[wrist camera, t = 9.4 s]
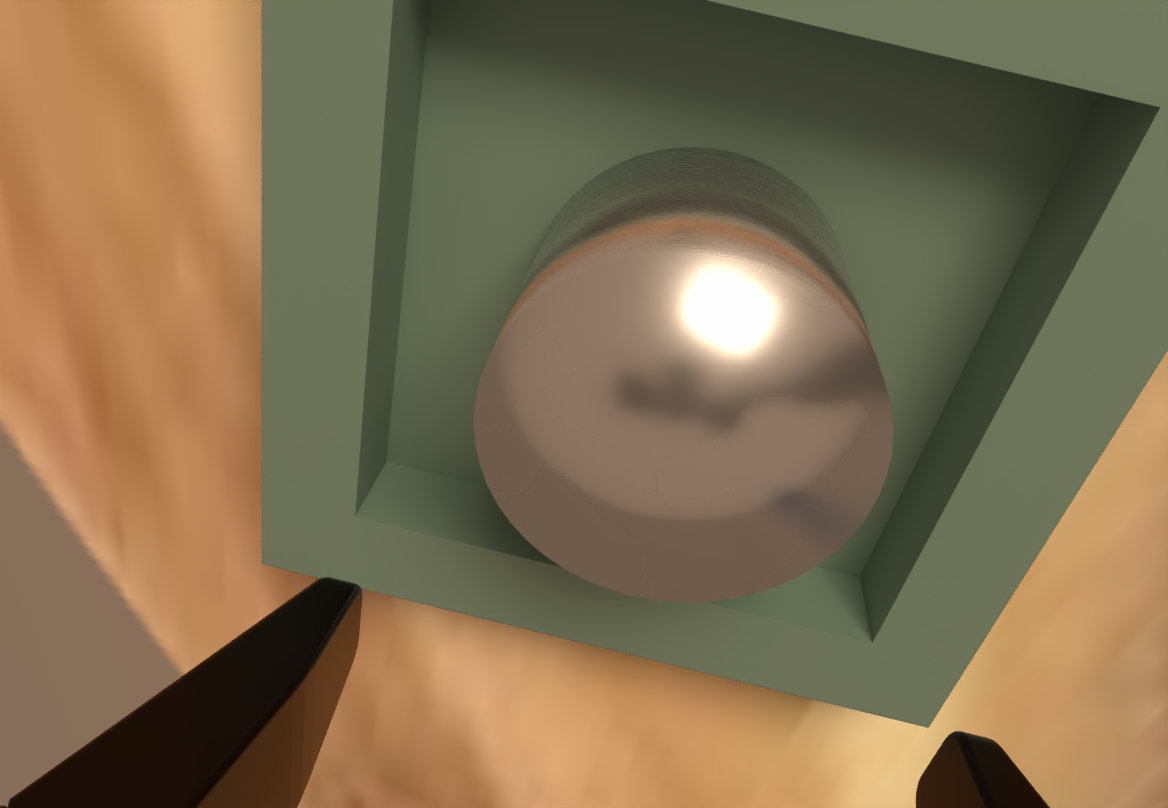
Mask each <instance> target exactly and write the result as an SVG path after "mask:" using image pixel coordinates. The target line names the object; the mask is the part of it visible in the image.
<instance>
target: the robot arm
mask: <svg viewBox="0 0 1168 808" xmlns="http://www.w3.org/2000/svg"><path fill="white" fill-rule="evenodd" d="M361 607H362V590H361V587H360V586H359V585H357V584H355V583H351V582H347V581H343V580H339V579H335V578H331V577H323V578H320V579H318V580H317V581H315V582H314V583H312V584H311V585H310V586H308V587H307V588H305V589H304V590H302V591H301V592H300V593H298V594H297V595H295V596H294V597H293V598H291V599H290V600H288V601H287V602H286V603H284V604H283V605H281V606H280V607H279V608H277V609H276V610H274V611H273V612H272V613H270V614H269V615H267V616H266V617H265V618H263V619H262V620H260V621H259V622H258V623H256V624H255V625H253V626H252V627H251V628H249V629H248V630H246V631H245V632H244V633H242V634H241V635H239V636H238V637H237V638H235V639H234V640H232V641H231V642H230V643H228V644H227V645H225V646H224V647H223V648H221V649H220V650H218V651H217V652H216V653H214V654H213V655H211V656H210V657H209V658H207V659H206V660H204V661H203V662H202V663H200V664H199V665H197V666H196V667H194V668H193V669H192V670H190V671H189V672H187V673H186V674H185V675H183V676H182V677H181V678H179V679H178V680H176V681H175V682H174V683H172V684H171V685H169V686H168V687H167V688H165V689H164V690H162V691H161V692H159V693H158V694H157V695H155V696H154V697H152V698H151V699H150V700H148V701H147V702H146V703H144V704H143V705H141V706H140V707H138V708H137V709H136V710H134V711H133V712H132V713H130V714H129V715H127V716H126V717H124V718H123V719H122V720H120V721H119V722H117V723H116V724H115V725H113V726H112V727H111V728H109V729H108V730H106V731H105V732H103V733H102V734H101V735H99V736H98V737H96V738H95V739H94V740H92V741H91V742H89V743H88V744H86V745H85V746H84V747H82V748H81V749H80V750H78V751H77V752H75V753H74V754H73V755H71V756H70V757H68V758H67V759H65V760H64V761H63V762H61V763H60V764H59V765H57V766H56V767H54V768H53V769H51V770H50V771H49V772H47V773H46V774H44V775H43V776H42V777H40V778H39V779H37V780H36V781H35V782H33V783H32V784H30V785H29V786H28V787H26V788H25V789H23V790H22V791H21V792H19V793H18V794H16V795H15V796H14V797H12V798H11V799H10V801H9V803H8V808H297V807H298V804H299V802H300V800H301V798H302V795H303V793H304V790H305V788H306V785H307V783H308V781H309V778H310V776H311V773H312V770H313V768H314V765H315V762H316V760H317V757H318V754H319V752H320V749H321V746H322V744H323V741H324V738H325V736H326V733H327V730H328V728H329V725H330V722H331V720H332V717H333V714H334V712H335V709H336V706H337V704H338V701H339V698H340V696H341V693H342V690H343V687H344V685H345V682H346V679H347V677H348V674H349V671H350V669H351V666H352V663H353V661H354V657H355V654H356V650H357V646H358V641H359V631H360V619H361ZM0 808H7V807H6V806H0ZM916 808H1050V807H1049V806H1048V805H1047V804H1046V802H1045V801H1044V800H1043V799H1042V797H1041V796H1040V795H1039V794H1038V792H1037V791H1036V790H1035V789H1034V787H1033V786H1032V785H1031V784H1030V782H1029V781H1028V780H1027V779H1026V777H1025V776H1024V775H1023V774H1022V772H1021V771H1020V770H1019V769H1018V767H1017V766H1016V765H1015V764H1014V762H1013V761H1012V760H1011V759H1010V757H1009V756H1008V755H1007V754H1006V752H1005V751H1004V750H1003V749H1002V748H1001V746H1000V745H999V744H997V743H996V742H995V741H993V740H991V739H989V738H985V737H981V736H977V735H973V734H969V733H965V732H961V731H955V732H953V733H951V734H949V735H948V737H947V738H946V739H945V740H944V742H943V743H942V745H941V747H940V748H939V750H938V751H937V753H936V754H935V756H934V757H933V759H932V760H931V762H930V763H929V765H928V766H927V768H926V769H925V771H924V772H923V774H922V776H921V778H920V780H919V783H918V787H917V792H916Z"/></svg>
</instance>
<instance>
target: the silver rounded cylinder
mask: <svg viewBox="0 0 1168 808" xmlns="http://www.w3.org/2000/svg"><path fill="white" fill-rule="evenodd" d="M473 424H474V438H475V446H476V451H477V455H478V460H479V464H480V467H481V470H482V473H483V475H484V478H485V481H486V483H487V486H488V488H489V490H490V491H491V493H492V495H493V497H494V499H495V501H496V502H497V504H498V506H499V507H500V509H501V510H502V512H503V513H504V514H505V516H506V517H507V518H508V520H509V521H510V523H511V524H512V525H513V526H514V527H515V528H516V529H517V530H518V531H519V533H520V534H521V535H522V536H523V537H524V538H525V539H526V540H527V541H528V542H529V543H530V544H532V545H533V546H534V547H535V548H536V549H537V550H539V551H540V552H541V553H542V554H543V555H545V556H546V557H547V558H549V559H550V560H552V561H553V562H555V563H556V564H558V565H559V566H561V567H562V568H564V569H566V570H567V571H569V572H571V573H573V574H575V575H577V576H579V577H581V578H583V579H584V580H587V581H589V582H592V583H594V584H597V585H599V586H602V587H604V588H606V589H610V590H613V591H616V592H620V593H623V594H627V595H630V596H635V597H640V598H646V599H651V600H658V601H669V602H710V601H719V600H728V599H733V598H738V597H743V596H748V595H752V594H755V593H758V592H761V591H765V590H768V589H771V588H774V587H776V586H779V585H781V584H783V583H785V582H788V581H790V580H792V579H795V578H797V577H798V576H800V575H802V574H803V573H805V572H807V571H809V570H810V569H812V568H814V567H816V566H817V565H818V564H820V563H821V562H822V561H824V560H825V559H826V558H828V557H829V556H830V555H832V554H833V553H834V552H836V551H837V550H838V549H839V548H840V547H841V546H842V545H843V544H844V543H845V542H846V541H847V540H848V539H849V538H850V537H851V536H852V535H853V534H854V533H855V531H856V530H857V529H858V528H859V526H860V525H861V524H862V523H863V521H864V520H865V519H866V517H867V516H868V514H869V512H870V511H871V509H872V507H873V506H874V504H875V502H876V500H877V499H878V497H879V494H880V492H881V489H882V487H883V484H884V482H885V479H886V477H887V473H888V469H889V464H890V460H891V455H892V447H893V430H894V428H893V419H892V409H891V403H890V399H889V395H888V392H887V388H886V384H885V381H884V378H883V375H882V372H881V369H880V366H879V363H878V359H877V356H876V353H875V350H874V347H873V344H872V341H871V338H870V335H869V332H868V329H867V326H866V323H865V320H864V317H863V314H862V311H861V308H860V305H859V302H858V299H857V295H856V292H855V289H854V286H853V283H852V280H851V277H850V274H849V271H848V268H847V265H846V262H845V259H844V256H843V253H842V250H841V247H840V244H839V242H838V240H837V237H836V235H835V233H834V231H833V229H832V227H831V225H830V223H829V222H828V220H827V219H826V217H825V216H824V214H823V212H822V211H821V209H820V208H819V207H818V206H817V205H816V204H815V202H814V201H813V200H812V199H811V198H810V197H809V196H808V194H807V193H806V192H804V191H803V190H802V189H801V188H800V187H799V186H797V185H796V184H795V183H794V182H793V181H792V180H790V179H789V178H787V177H786V176H784V175H783V174H781V173H780V172H778V171H777V170H775V169H773V168H772V167H770V166H767V165H765V164H763V163H761V162H759V161H757V160H755V159H752V158H749V157H746V156H743V155H740V154H736V153H733V152H729V151H723V150H718V149H712V148H695V147H683V148H672V149H663V150H658V151H654V152H650V153H645V154H641V155H639V156H636V157H633V158H631V159H628V160H625V161H622V162H620V163H618V164H617V165H615V166H613V167H611V168H609V169H607V170H605V171H603V172H602V173H600V174H599V175H598V176H596V177H595V178H593V179H592V180H591V181H589V182H588V183H586V184H585V185H584V186H583V187H582V188H581V189H580V190H579V191H578V192H577V193H576V194H574V195H573V196H572V197H571V198H570V199H569V201H568V202H567V203H566V204H565V206H564V207H563V208H562V209H561V211H560V212H559V213H558V214H557V216H556V218H555V220H554V221H553V223H552V225H551V226H550V228H549V230H548V231H547V233H546V236H545V238H544V240H543V242H542V244H541V246H540V248H539V251H538V253H537V255H536V257H535V259H534V261H533V263H532V266H531V268H530V270H529V272H528V274H527V276H526V278H525V281H524V283H523V285H522V287H521V289H520V291H519V293H518V295H517V298H516V300H515V302H514V304H513V306H512V308H511V310H510V313H509V315H508V317H507V319H506V321H505V323H504V325H503V328H502V330H501V332H500V334H499V336H498V338H497V340H496V343H495V345H494V347H493V349H492V351H491V353H490V355H489V358H488V360H487V363H486V365H485V367H484V370H483V372H482V375H481V377H480V381H479V386H478V390H477V394H476V398H475V408H474V420H473Z"/></svg>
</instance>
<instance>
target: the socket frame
mask: <svg viewBox="0 0 1168 808" xmlns="http://www.w3.org/2000/svg"><path fill="white" fill-rule="evenodd" d="M683 147H695V148H712V149H718V150H723V151H729V152H733V153H736V154H740V155H743V156H746V157H749V158H752V159H755V160H757V161H759V162H761V163H763V164H765V165H767V166H770V167H772V168H773V169H775V170H777V171H778V172H780V173H781V174H783V175H784V176H786V177H787V178H789V179H790V180H792V181H793V182H794V183H795V184H796V185H797V186H799V187H800V188H801V189H802V190H803V191H804V192H806V193H807V194H808V196H809V197H810V198H811V199H812V200H813V201H814V202H815V204H816V205H817V206H818V207H819V208H820V209H821V211H822V212H823V214H824V216H825V217H826V219H827V220H828V222H829V223H830V225H831V227H832V229H833V231H834V233H835V235H836V237H837V240H838V242H839V244H840V247H841V250H842V253H843V256H844V259H845V262H846V265H847V268H848V271H849V274H850V277H851V280H852V283H853V286H854V289H855V292H856V295H857V299H858V302H859V305H860V308H861V311H862V314H863V317H864V320H865V323H866V326H867V329H868V332H869V335H870V338H871V341H872V344H873V347H874V350H875V353H876V356H877V359H878V363H879V366H880V369H881V372H882V375H883V378H884V381H885V384H886V388H887V392H888V395H889V399H890V403H891V409H892V419H893V428H894V430H893V447H892V455H891V460H890V464H889V469H888V473H887V477H886V479H885V482H884V484H883V487H882V489H881V492H880V494H879V497H878V499H877V500H876V502H875V504H874V506H873V507H872V509H871V511H870V512H869V514H868V516H867V517H866V519H865V520H864V521H863V523H862V524H861V525H860V526H859V528H858V529H857V530H856V531H855V533H854V534H853V535H852V536H851V537H850V538H849V539H848V540H847V541H846V542H845V543H844V544H843V545H842V546H841V547H840V548H839V549H838V550H837V551H836V552H834V553H833V554H832V555H830V556H829V557H828V558H826V559H825V560H824V561H822V562H821V563H820V564H818V565H817V566H816V567H814V568H812V569H810V570H809V571H807V572H805V573H803V574H802V575H800V576H798V577H797V578H795V579H792V580H790V581H788V582H785V583H783V584H781V585H779V586H776V587H774V588H771V589H768V590H765V591H761V592H758V593H755V594H752V595H748V596H743V597H738V598H733V599H728V600H719V601H710V602H669V601H658V600H651V599H646V598H640V597H635V596H630V595H627V594H623V593H620V592H616V591H613V590H610V589H606V588H604V587H602V586H599V585H597V584H594V583H592V582H589V581H587V580H584V579H583V578H581V577H579V576H577V575H575V574H573V573H571V572H569V571H567V570H566V569H564V568H562V567H561V566H559V565H558V564H556V563H555V562H553V561H552V560H550V559H549V558H547V557H546V556H545V555H543V554H542V553H541V552H540V551H539V550H537V549H536V548H535V547H534V546H533V545H532V544H530V543H529V542H528V541H527V540H526V539H525V538H524V537H523V536H522V535H521V534H520V533H519V531H518V530H517V529H516V528H515V527H514V526H513V525H512V524H511V523H510V521H509V520H508V518H507V517H506V516H505V514H504V513H503V512H502V510H501V509H500V507H499V506H498V504H497V502H496V501H495V499H494V497H493V495H492V493H491V491H490V490H489V488H488V486H487V483H486V481H485V478H484V475H483V473H482V470H481V467H480V464H479V460H478V455H477V451H476V446H475V438H474V424H473V420H474V408H475V398H476V394H477V390H478V386H479V381H480V377H481V375H482V372H483V370H484V367H485V365H486V363H487V360H488V358H489V355H490V353H491V351H492V349H493V347H494V345H495V343H496V340H497V338H498V336H499V334H500V332H501V330H502V328H503V325H504V323H505V321H506V319H507V317H508V315H509V313H510V310H511V308H512V306H513V304H514V302H515V300H516V298H517V295H518V293H519V291H520V289H521V287H522V285H523V283H524V281H525V278H526V276H527V274H528V272H529V270H530V268H531V266H532V263H533V261H534V259H535V257H536V255H537V253H538V251H539V248H540V246H541V244H542V242H543V240H544V238H545V236H546V233H547V231H548V230H549V228H550V226H551V225H552V223H553V221H554V220H555V218H556V216H557V214H558V213H559V212H560V211H561V209H562V208H563V207H564V206H565V204H566V203H567V202H568V201H569V199H570V198H571V197H572V196H573V195H574V194H576V193H577V192H578V191H579V190H580V189H581V188H582V187H583V186H584V185H585V184H586V183H588V182H589V181H591V180H592V179H593V178H595V177H596V176H598V175H599V174H600V173H602V172H603V171H605V170H607V169H609V168H611V167H613V166H615V165H617V164H618V163H620V162H622V161H625V160H628V159H631V158H633V157H636V156H639V155H641V154H645V153H650V152H654V151H658V150H663V149H672V148H683ZM1167 351H1168V0H262V564H263V565H267V566H272V567H276V568H280V569H284V570H288V571H292V572H296V573H300V574H304V575H308V576H312V577H316V578H323V577H331V578H335V579H339V580H343V581H347V582H351V583H355V584H357V585H359V586H360V587H361V589H365V590H369V591H373V592H377V593H382V594H386V595H390V596H394V597H398V598H402V599H406V600H410V601H414V602H418V603H422V604H426V605H430V606H434V607H439V608H443V609H447V610H451V611H455V612H459V613H463V614H467V615H471V616H475V617H479V618H483V619H487V620H491V621H496V622H500V623H504V624H508V625H512V626H516V627H520V628H524V629H528V630H532V631H536V632H540V633H544V634H549V635H553V636H557V637H561V638H565V639H569V640H573V641H577V642H581V643H585V644H589V645H593V646H597V647H601V648H606V649H610V650H614V651H618V652H622V653H626V654H630V655H634V656H638V657H642V658H646V659H650V660H654V661H659V662H663V663H667V664H671V665H675V666H679V667H683V668H687V669H691V670H695V671H699V672H703V673H707V674H711V675H716V676H720V677H724V678H728V679H732V680H736V681H740V682H744V683H748V684H752V685H756V686H760V687H764V688H768V689H773V690H777V691H781V692H785V693H789V694H793V695H797V696H801V697H805V698H809V699H813V700H817V701H821V702H826V703H830V704H834V705H838V706H842V707H846V708H850V709H854V710H858V711H862V712H866V713H870V714H874V715H878V716H883V717H887V718H891V719H895V720H899V721H903V722H907V723H911V724H915V725H919V726H923V727H927V728H929V726H930V725H931V723H932V721H933V720H934V718H935V717H936V715H937V714H938V712H939V710H940V709H941V707H942V706H943V704H944V702H945V701H946V699H947V698H948V696H949V695H950V693H951V691H952V690H953V688H954V687H955V685H956V684H957V682H958V680H959V679H960V677H961V676H962V674H963V672H964V671H965V669H966V668H967V666H968V665H969V663H970V661H971V660H972V658H973V657H974V655H975V654H976V652H977V650H978V649H979V647H980V646H981V644H982V642H983V641H984V639H985V638H986V636H987V635H988V633H989V631H990V630H991V628H992V627H993V625H994V624H995V622H996V620H997V619H998V617H999V616H1000V614H1001V613H1002V611H1003V609H1004V608H1005V606H1006V605H1007V603H1008V601H1009V600H1010V598H1011V597H1012V595H1013V594H1014V592H1015V590H1016V589H1017V587H1018V586H1019V584H1020V583H1021V581H1022V579H1023V578H1024V576H1025V575H1026V573H1027V571H1028V570H1029V568H1030V567H1031V565H1032V564H1033V562H1034V560H1035V559H1036V557H1037V556H1038V554H1039V553H1040V551H1041V549H1042V548H1043V546H1044V545H1045V543H1046V541H1047V540H1048V538H1049V537H1050V535H1051V534H1052V532H1053V530H1054V529H1055V527H1056V526H1057V524H1058V523H1059V521H1060V519H1061V518H1062V516H1063V515H1064V513H1065V511H1066V510H1067V508H1068V507H1069V505H1070V504H1071V502H1072V500H1073V499H1074V497H1075V496H1076V494H1077V493H1078V491H1079V489H1080V488H1081V486H1082V485H1083V483H1084V482H1085V480H1086V478H1087V477H1088V475H1089V474H1090V472H1091V470H1092V469H1093V467H1094V466H1095V464H1096V463H1097V461H1098V459H1099V458H1100V456H1101V455H1102V453H1103V452H1104V450H1105V448H1106V447H1107V445H1108V444H1109V442H1110V440H1111V439H1112V437H1113V436H1114V434H1115V433H1116V431H1117V429H1118V428H1119V426H1120V425H1121V423H1122V422H1123V420H1124V418H1125V417H1126V415H1127V414H1128V412H1129V410H1130V409H1131V407H1132V406H1133V404H1134V403H1135V401H1136V399H1137V398H1138V396H1139V395H1140V393H1141V392H1142V390H1143V388H1144V387H1145V385H1146V384H1147V382H1148V380H1149V379H1150V377H1151V376H1152V374H1153V373H1154V371H1155V369H1156V368H1157V366H1158V365H1159V363H1160V362H1161V360H1162V358H1163V357H1164V355H1165V354H1166V352H1167Z"/></svg>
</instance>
